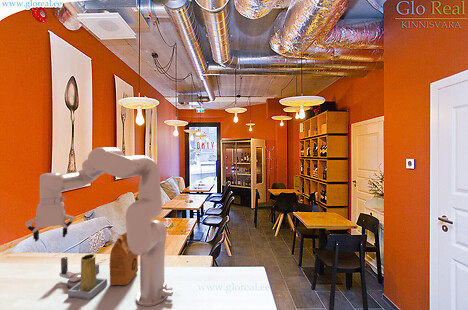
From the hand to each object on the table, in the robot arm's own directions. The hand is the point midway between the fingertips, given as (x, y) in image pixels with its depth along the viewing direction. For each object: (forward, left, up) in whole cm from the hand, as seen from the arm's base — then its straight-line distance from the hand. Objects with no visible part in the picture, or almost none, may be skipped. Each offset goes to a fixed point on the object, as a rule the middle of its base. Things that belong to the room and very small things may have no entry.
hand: (50, 238), depth 100 cm
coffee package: (-30, -9, -21) cm, 38 cm away
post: (-13, -11, -21) cm, 27 cm away
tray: (-20, +2, -21) cm, 29 cm away
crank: (-8, -2, -19) cm, 21 cm away
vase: (-20, +2, -21) cm, 29 cm away
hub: (-11, -2, -21) cm, 24 cm away
